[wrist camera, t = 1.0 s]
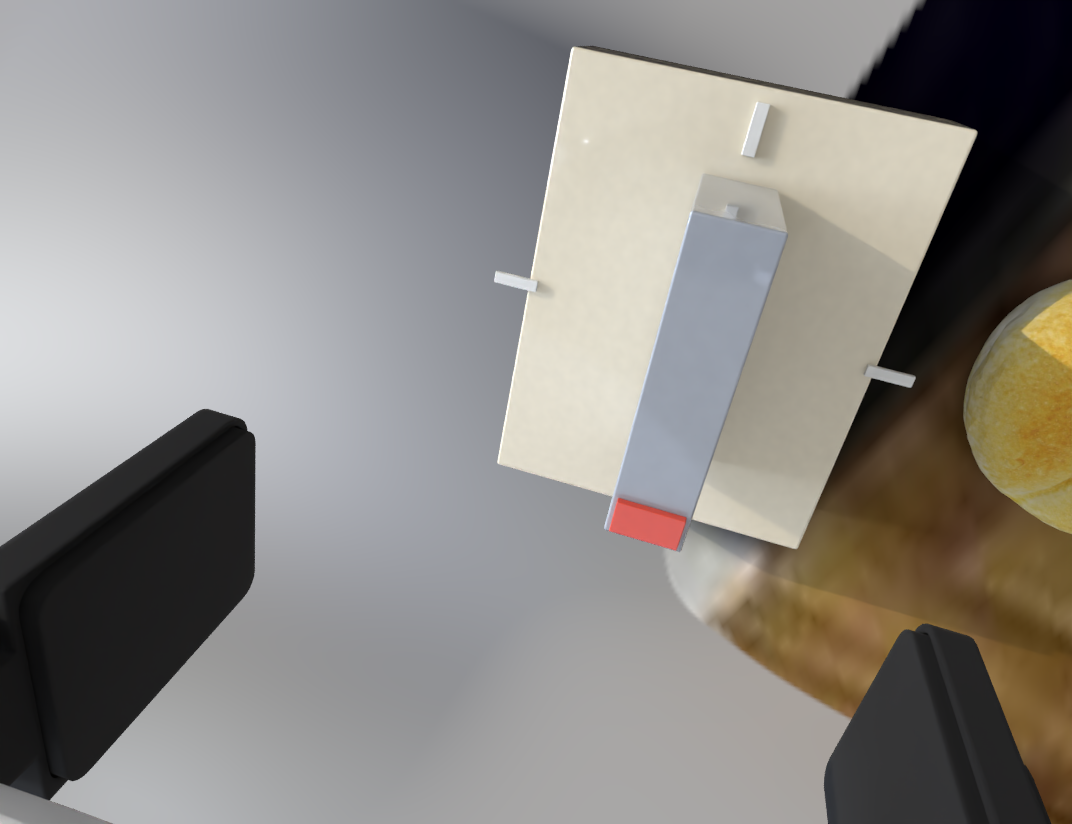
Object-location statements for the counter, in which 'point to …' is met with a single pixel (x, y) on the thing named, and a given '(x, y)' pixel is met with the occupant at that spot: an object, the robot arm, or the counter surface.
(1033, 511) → the bread roll
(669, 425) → the grey rectangular block
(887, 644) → the counter surface
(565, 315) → the cream flat tabbed slab
